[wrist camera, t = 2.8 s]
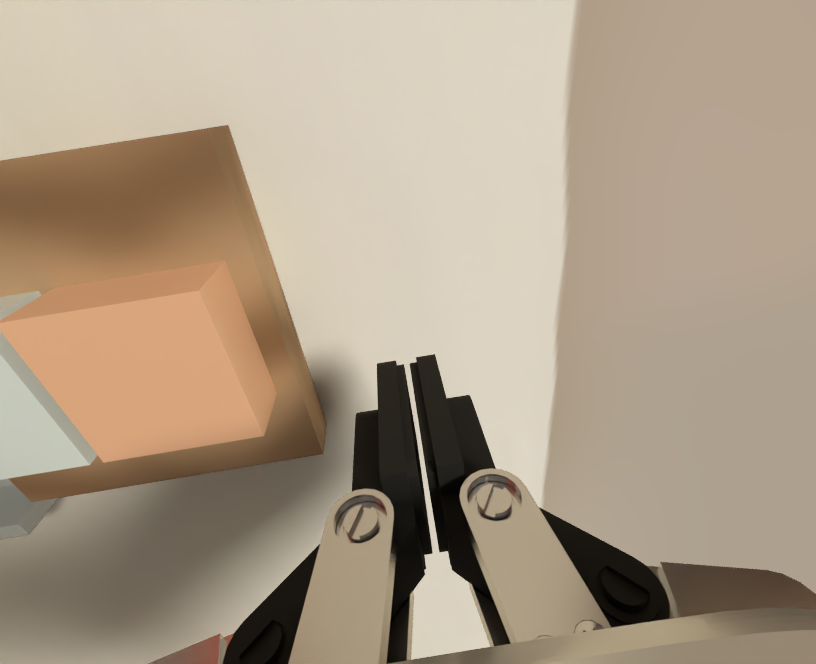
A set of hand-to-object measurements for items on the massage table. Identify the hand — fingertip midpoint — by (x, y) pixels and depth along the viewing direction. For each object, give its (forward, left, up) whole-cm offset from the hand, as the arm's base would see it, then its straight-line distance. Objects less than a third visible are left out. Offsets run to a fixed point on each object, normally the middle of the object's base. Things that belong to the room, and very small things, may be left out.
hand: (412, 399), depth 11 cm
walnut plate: (-1, -12, -7) cm, 14 cm away
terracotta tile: (-1, -9, -5) cm, 10 cm away
